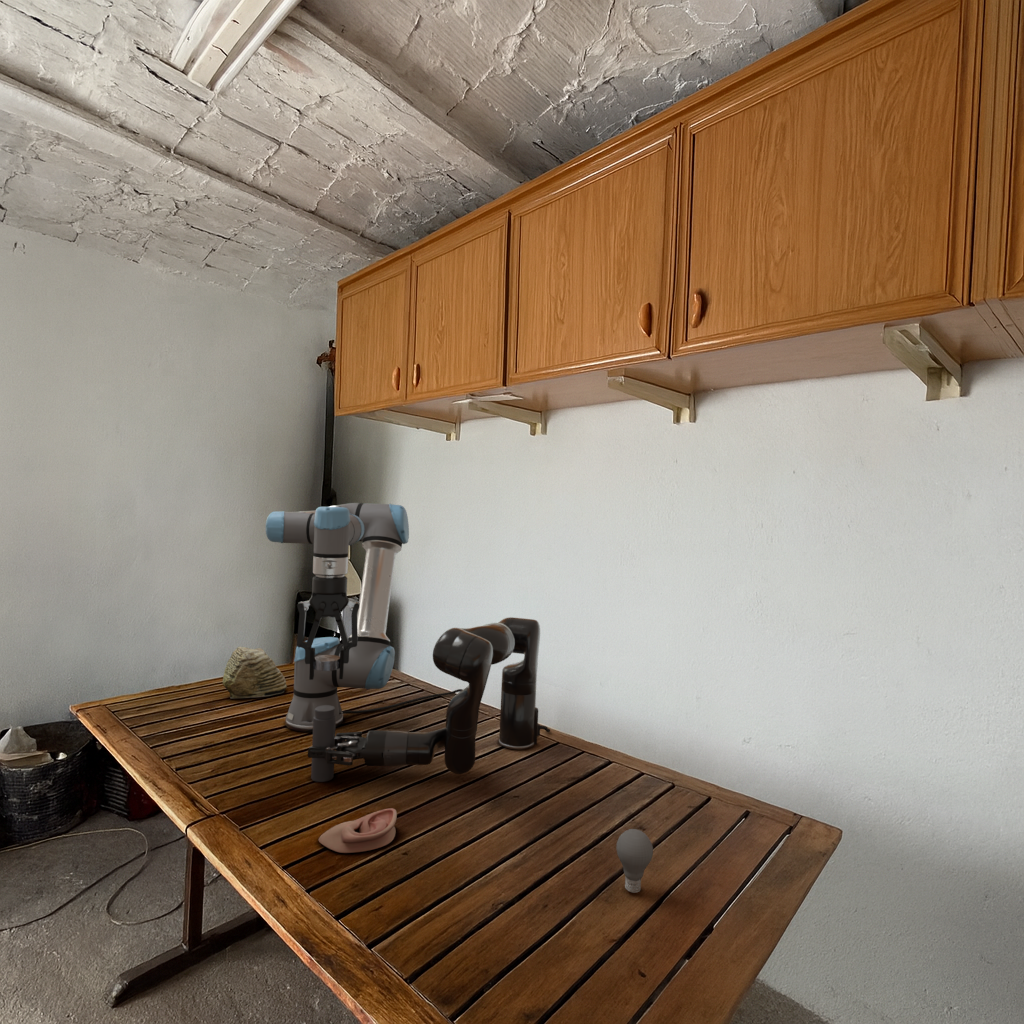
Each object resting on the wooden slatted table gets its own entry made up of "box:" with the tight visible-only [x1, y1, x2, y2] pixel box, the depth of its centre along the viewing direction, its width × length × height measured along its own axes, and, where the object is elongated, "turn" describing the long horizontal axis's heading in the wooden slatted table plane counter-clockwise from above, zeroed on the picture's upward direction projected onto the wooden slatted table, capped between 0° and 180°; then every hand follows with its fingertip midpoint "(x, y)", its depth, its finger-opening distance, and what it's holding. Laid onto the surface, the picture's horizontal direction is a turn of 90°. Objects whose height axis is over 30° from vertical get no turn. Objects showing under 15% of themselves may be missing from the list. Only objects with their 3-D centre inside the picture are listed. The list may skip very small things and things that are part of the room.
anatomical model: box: [318, 807, 398, 854], centre depth 118 cm, size 13×4×12 cm
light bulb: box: [615, 828, 654, 894], centre depth 106 cm, size 6×6×10 cm
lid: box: [314, 655, 340, 671], centre depth 143 cm, size 6×6×2 cm
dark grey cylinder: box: [310, 705, 337, 783], centre depth 143 cm, size 5×5×16 cm
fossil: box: [222, 646, 288, 699], centre depth 198 cm, size 9×18×15 cm, turn 132°
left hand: (326, 677), depth 143 cm, fingers closed on lid, 6 cm apart
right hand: (311, 747), depth 143 cm, fingers closed on dark grey cylinder, 5 cm apart
